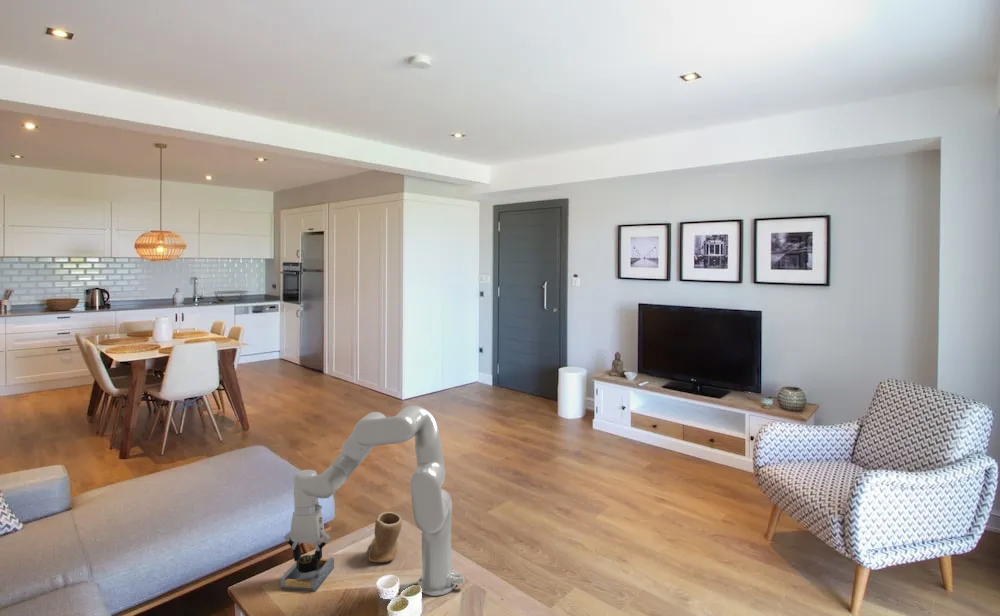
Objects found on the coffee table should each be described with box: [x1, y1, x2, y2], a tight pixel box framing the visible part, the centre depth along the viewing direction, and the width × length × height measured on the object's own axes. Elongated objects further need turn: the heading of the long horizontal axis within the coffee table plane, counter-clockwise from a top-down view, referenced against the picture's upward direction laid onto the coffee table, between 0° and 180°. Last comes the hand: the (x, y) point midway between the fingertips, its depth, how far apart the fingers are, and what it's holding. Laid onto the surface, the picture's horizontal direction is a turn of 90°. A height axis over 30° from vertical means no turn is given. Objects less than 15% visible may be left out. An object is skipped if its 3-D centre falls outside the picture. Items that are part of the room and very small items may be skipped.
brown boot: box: [368, 511, 403, 563], centre depth 196 cm, size 15×12×15 cm
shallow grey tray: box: [279, 555, 335, 592], centre depth 181 cm, size 12×14×4 cm
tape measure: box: [296, 553, 318, 573], centre depth 181 cm, size 7×7×4 cm
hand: (307, 559), depth 181 cm, fingers closed on tape measure, 6 cm apart
